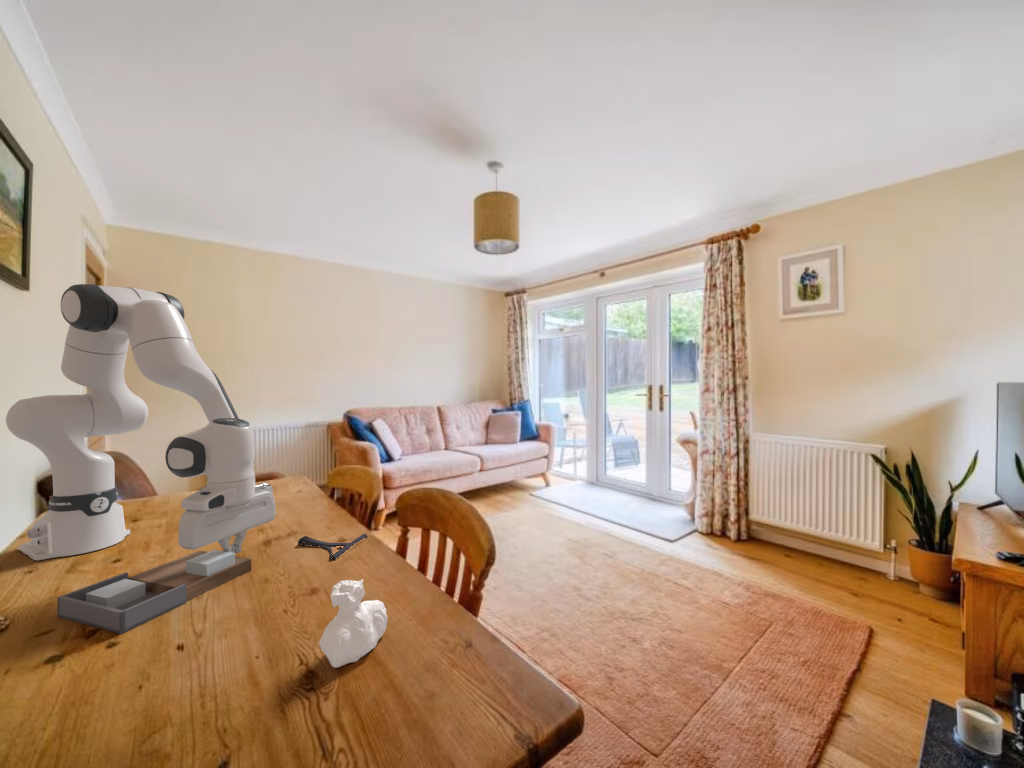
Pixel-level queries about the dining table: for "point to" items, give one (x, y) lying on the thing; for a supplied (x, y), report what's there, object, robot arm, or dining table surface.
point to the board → (188, 576)
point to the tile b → (210, 562)
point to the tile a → (117, 593)
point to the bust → (352, 624)
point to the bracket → (330, 544)
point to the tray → (122, 616)
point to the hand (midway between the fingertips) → (232, 554)
